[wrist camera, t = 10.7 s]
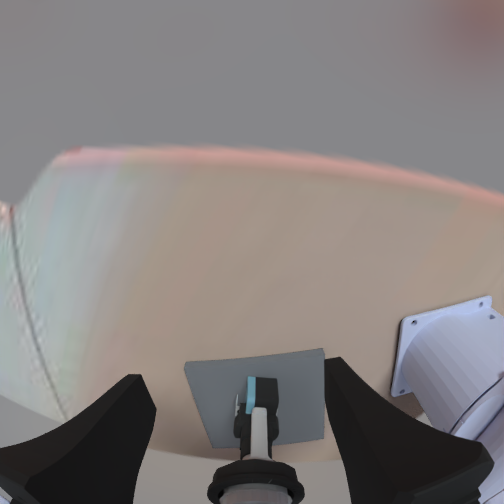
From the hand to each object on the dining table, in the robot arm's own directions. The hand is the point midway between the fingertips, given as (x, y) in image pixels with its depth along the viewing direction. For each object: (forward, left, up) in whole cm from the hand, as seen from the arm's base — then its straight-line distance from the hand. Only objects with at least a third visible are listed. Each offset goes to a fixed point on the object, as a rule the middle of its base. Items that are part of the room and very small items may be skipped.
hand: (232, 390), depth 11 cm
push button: (0, +9, -8) cm, 12 cm away
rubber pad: (0, +10, -9) cm, 13 cm away
